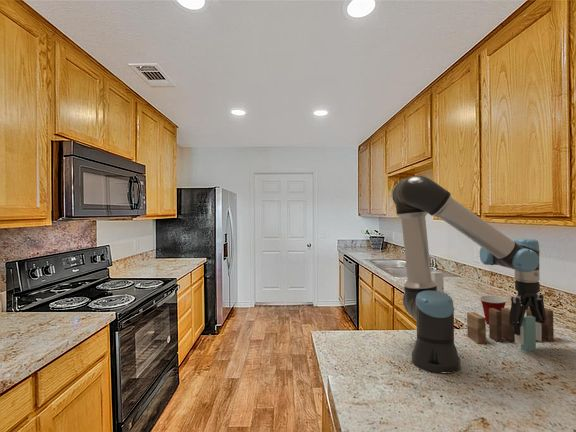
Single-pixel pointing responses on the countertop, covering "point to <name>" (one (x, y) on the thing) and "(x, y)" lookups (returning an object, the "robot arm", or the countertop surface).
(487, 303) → the plastic cup
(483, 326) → the block
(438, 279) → the skincare box
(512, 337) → the domino
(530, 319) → the domino
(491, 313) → the domino
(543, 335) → the domino
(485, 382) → the countertop surface
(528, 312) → the domino
